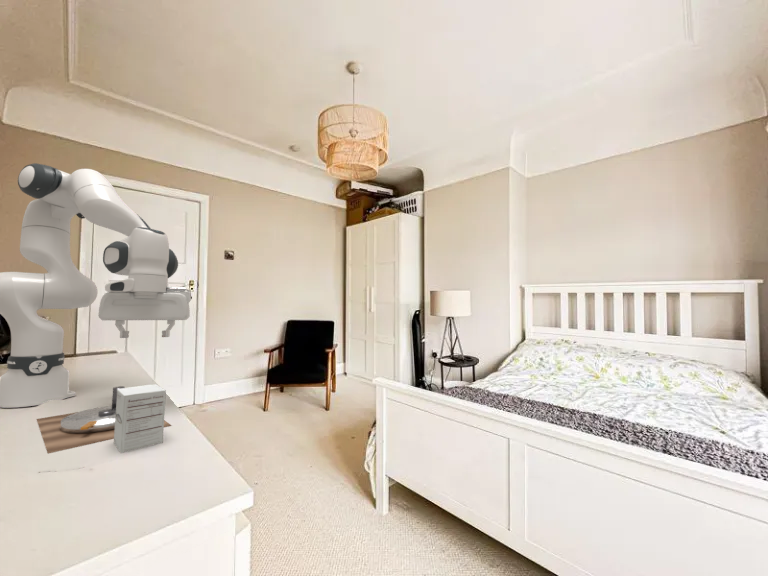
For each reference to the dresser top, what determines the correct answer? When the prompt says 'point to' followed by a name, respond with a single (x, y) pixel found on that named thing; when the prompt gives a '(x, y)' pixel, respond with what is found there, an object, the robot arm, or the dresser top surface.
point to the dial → (92, 418)
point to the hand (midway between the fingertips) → (145, 337)
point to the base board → (69, 435)
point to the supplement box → (139, 417)
